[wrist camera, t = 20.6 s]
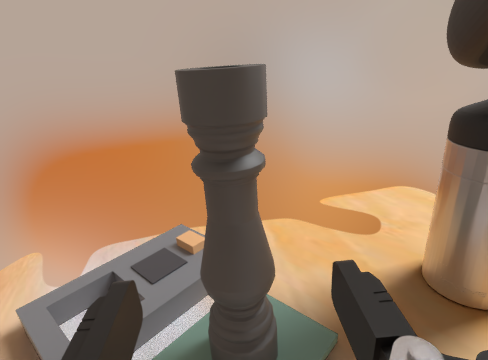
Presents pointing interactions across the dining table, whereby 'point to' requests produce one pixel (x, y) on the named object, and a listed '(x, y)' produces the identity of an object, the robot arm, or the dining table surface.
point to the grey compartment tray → (123, 269)
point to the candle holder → (232, 205)
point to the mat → (288, 338)
